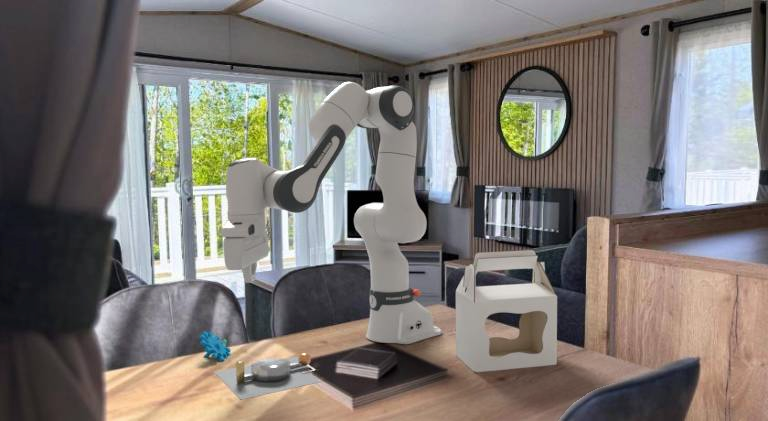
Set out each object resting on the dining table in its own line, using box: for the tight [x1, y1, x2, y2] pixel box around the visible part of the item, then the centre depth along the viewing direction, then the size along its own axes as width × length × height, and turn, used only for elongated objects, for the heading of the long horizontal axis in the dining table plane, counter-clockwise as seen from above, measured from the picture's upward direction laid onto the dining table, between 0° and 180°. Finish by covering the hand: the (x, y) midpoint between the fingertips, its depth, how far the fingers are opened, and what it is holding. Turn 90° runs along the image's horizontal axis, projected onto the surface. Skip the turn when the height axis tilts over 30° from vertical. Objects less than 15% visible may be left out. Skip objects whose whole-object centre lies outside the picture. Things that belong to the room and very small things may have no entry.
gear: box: [199, 331, 232, 362], centre depth 152 cm, size 11×6×10 cm
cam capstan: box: [235, 352, 312, 383], centre depth 137 cm, size 10×19×5 cm, turn 127°
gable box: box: [455, 249, 558, 374], centre depth 148 cm, size 22×13×28 cm, turn 103°
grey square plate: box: [213, 356, 322, 401], centre depth 137 cm, size 21×20×1 cm
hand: (250, 281), depth 143 cm, fingers closed
